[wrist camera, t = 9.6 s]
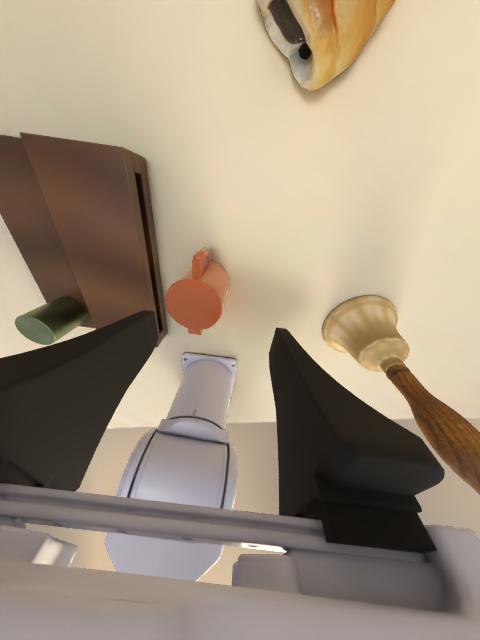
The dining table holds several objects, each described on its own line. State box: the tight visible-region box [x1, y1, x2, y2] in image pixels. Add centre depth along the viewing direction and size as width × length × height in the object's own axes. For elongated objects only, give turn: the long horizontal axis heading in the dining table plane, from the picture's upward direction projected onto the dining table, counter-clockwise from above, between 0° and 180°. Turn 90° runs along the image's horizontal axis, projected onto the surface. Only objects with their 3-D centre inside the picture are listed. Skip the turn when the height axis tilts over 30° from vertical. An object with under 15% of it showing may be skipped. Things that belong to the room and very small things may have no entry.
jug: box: [166, 247, 230, 335], centre depth 17 cm, size 7×5×6 cm
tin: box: [15, 297, 88, 345], centre depth 20 cm, size 4×4×4 cm
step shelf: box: [0, 132, 167, 347], centre depth 18 cm, size 18×14×3 cm
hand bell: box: [322, 296, 480, 494], centre depth 15 cm, size 8×8×16 cm
